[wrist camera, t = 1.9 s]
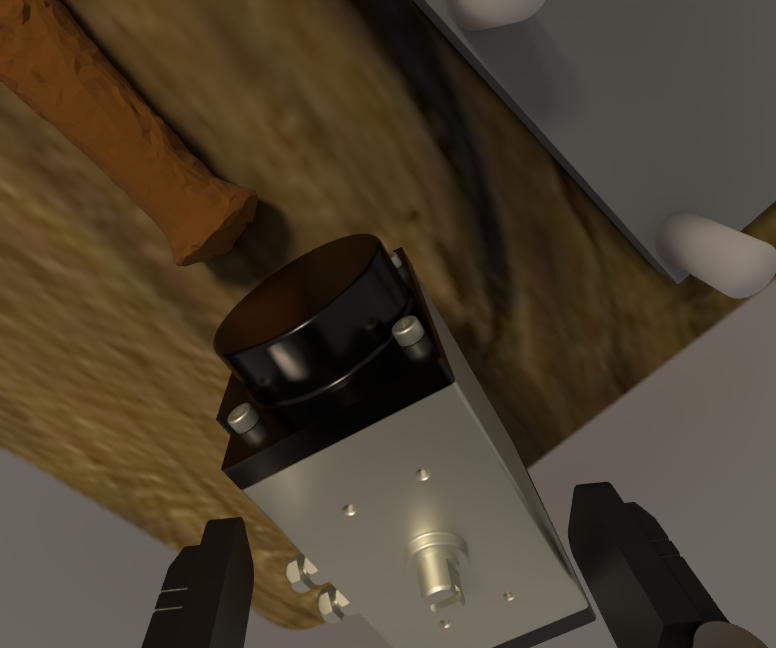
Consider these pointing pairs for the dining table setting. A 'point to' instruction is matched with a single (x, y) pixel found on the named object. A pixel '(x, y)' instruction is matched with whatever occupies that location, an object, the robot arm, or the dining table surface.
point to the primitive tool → (118, 130)
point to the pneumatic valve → (387, 458)
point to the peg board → (645, 115)
